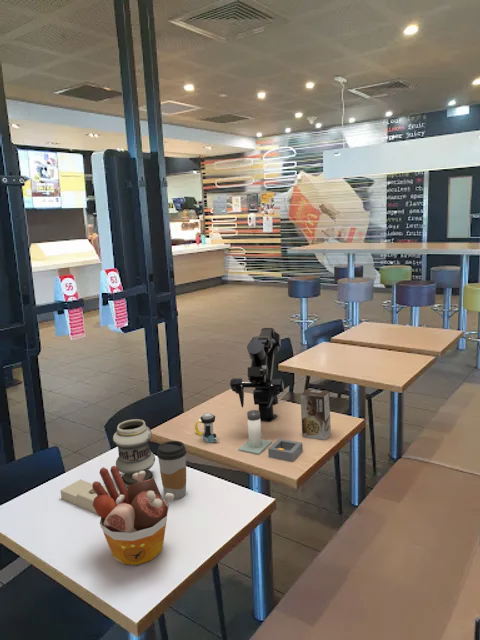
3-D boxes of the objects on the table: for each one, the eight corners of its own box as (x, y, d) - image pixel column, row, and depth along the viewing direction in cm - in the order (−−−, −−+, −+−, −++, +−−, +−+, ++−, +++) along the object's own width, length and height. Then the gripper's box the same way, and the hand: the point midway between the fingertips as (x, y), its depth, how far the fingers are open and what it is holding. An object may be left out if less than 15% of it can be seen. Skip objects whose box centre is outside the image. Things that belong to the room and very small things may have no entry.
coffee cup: (178, 484, 152) (174, 437, 150) (195, 493, 146) (191, 445, 144) (155, 495, 147) (150, 447, 144) (172, 505, 141) (168, 455, 138)
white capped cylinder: (255, 441, 178) (253, 409, 175) (264, 444, 174) (262, 412, 172) (246, 445, 175) (244, 412, 172) (255, 449, 172) (253, 416, 169)
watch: (211, 434, 188) (211, 419, 187) (208, 437, 185) (208, 422, 184) (197, 431, 190) (197, 416, 189) (193, 434, 188) (193, 419, 186)
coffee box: (331, 433, 182) (330, 391, 179) (325, 440, 176) (324, 396, 173) (307, 430, 186) (306, 388, 183) (301, 436, 181) (299, 394, 178)
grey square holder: (279, 446, 174) (279, 437, 173) (302, 450, 169) (302, 441, 169) (268, 457, 166) (268, 447, 166) (292, 461, 162) (292, 452, 162)
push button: (222, 440, 181) (221, 414, 180) (213, 446, 177) (211, 419, 175) (208, 436, 185) (206, 410, 183) (199, 442, 181) (197, 415, 179)
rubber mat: (251, 439, 181) (251, 437, 181) (271, 442, 177) (271, 441, 177) (238, 450, 172) (238, 449, 172) (259, 454, 168) (258, 453, 168)
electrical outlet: (80, 476, 153) (120, 491, 143) (81, 488, 154) (122, 504, 143) (60, 487, 147) (101, 503, 137) (61, 500, 148) (102, 517, 138)
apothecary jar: (110, 479, 157) (104, 425, 154) (142, 465, 166) (137, 413, 162) (131, 492, 149) (125, 435, 146) (164, 476, 157) (159, 422, 154)
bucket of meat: (190, 543, 123) (184, 468, 119) (144, 585, 110) (135, 502, 106) (131, 521, 134) (124, 452, 130) (82, 557, 120) (72, 481, 117)
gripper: (229, 356, 179) (224, 397, 171) (281, 356, 175) (279, 397, 167) (235, 371, 188) (230, 410, 180) (284, 371, 184) (282, 411, 176)
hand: (255, 407), depth 175 cm, fingers open, 9 cm apart
